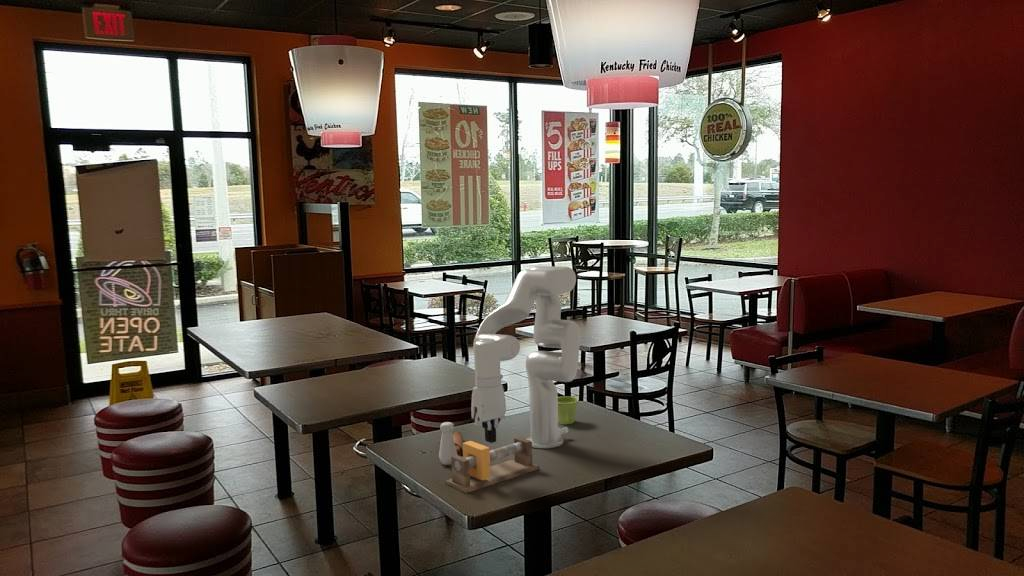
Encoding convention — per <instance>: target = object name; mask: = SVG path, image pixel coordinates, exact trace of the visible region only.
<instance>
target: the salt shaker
mask: <svg viewBox="0 0 1024 576" xmlns="http://www.w3.org/2000/svg"><path fill="white" fill-rule="evenodd" d="M454 425H455V424H454V423H453V422H450V421H445V422H442V423H441V424H440V426H439V428H440V431H441V437H440V438H441V439H440V441H441V444H440V443H439V452H438V457H439V458H438V459H439V461H440V462H441V464H442V465H443V466H452V465H451V464H452V461H451V457H452V456H455V455H457V451H456V447H455V443H454V438H453V434H454V433H453V431H454V429H455V426H454Z"/></svg>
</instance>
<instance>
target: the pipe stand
mask: <svg viewBox="0 0 1024 576" xmlns="http://www.w3.org/2000/svg"><path fill="white" fill-rule="evenodd" d="M489 450H490V449H489ZM512 455H514V458H512V459H510V460H507V461H502V462H500V463H497V464H494V465H490V478H488V479H485V480H480V479H478V478H476V477H473V476H471V475H470V467H473V466H477V465H476V456H470V457H467V458H463V457H461V456H458V455H455V456H452V457H451V461H452V465H451V478H449V479H446V480H445V485H447V486H450V487H451V486H452V487H451V488H454V489H456V490H458V491H460V492H462V491H463V492H462V493H464V492H465V493H464V494H468V492H469V493H472V492H474V491H476V490H479V489H483V488H487V487H490V486H492V485H495V484H498V483H501V482H504V481H507V480H510V479H513V478H516V477H519V476H521V475H525V474H527V473H531V472H533V471H537V470H540V465H538V464H537V463H534V462H533V447H532V441H530V440H527V438H523V437H520V436H516V437H514V438H513V443H512V444H508V445H504V446H501V447H498V448H495V449H491V450H490V462H492V461H495V460H498V459H501V458H505V457H509V456H512Z"/></svg>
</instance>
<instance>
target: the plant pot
mask: <svg viewBox="0 0 1024 576" xmlns="http://www.w3.org/2000/svg"><path fill="white" fill-rule="evenodd" d="M578 402H579V398H578V397H575V396H558V425H559V424H560V425H563V426H566V425H572V424H574V423H575V421H576V420H575V419H576V412H577V411H576V410H577V404H578Z"/></svg>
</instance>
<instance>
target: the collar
mask: <svg viewBox="0 0 1024 576" xmlns="http://www.w3.org/2000/svg"><path fill="white" fill-rule="evenodd" d="M470 456H476V465H477V466H473V467H470V475H471V476H473V477H476V478H478V479H480V480H485V479H488V478H490V466H491V461H490V447H489V446H486V445H484V444H481V443H478V442H475V441H473V440H468V441H465V442H464V441H463V458H467V457H470Z"/></svg>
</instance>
